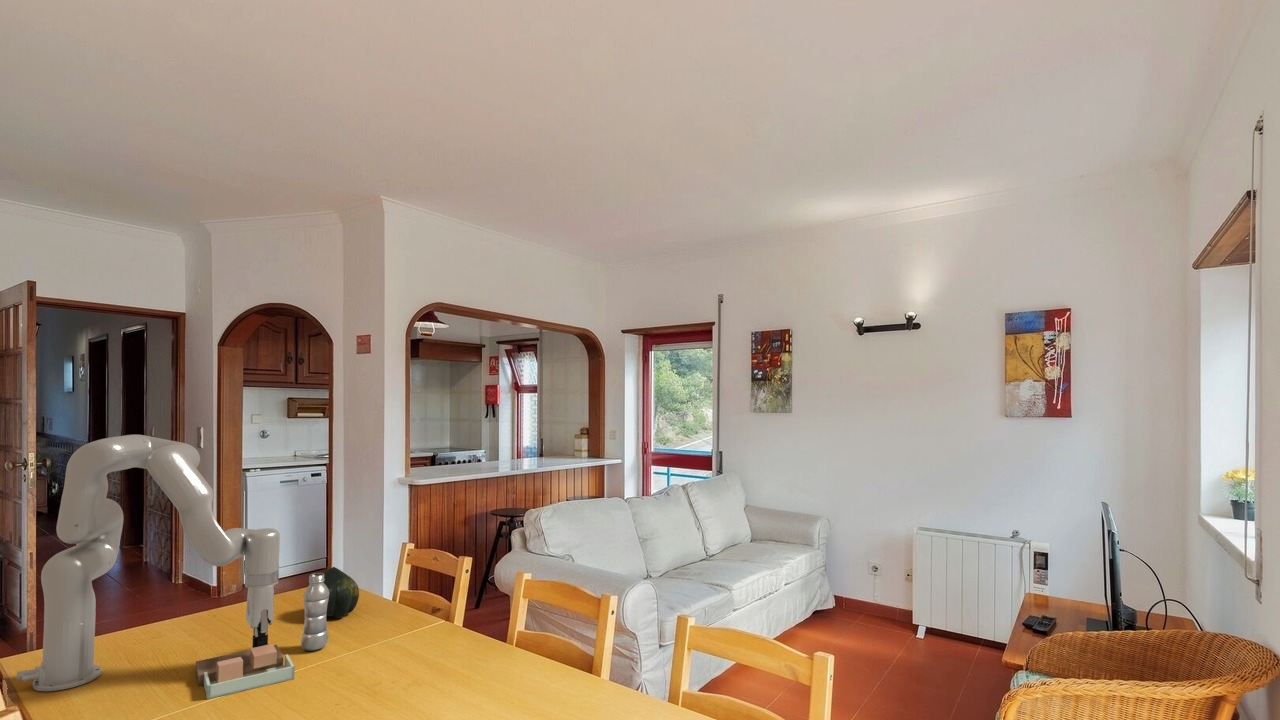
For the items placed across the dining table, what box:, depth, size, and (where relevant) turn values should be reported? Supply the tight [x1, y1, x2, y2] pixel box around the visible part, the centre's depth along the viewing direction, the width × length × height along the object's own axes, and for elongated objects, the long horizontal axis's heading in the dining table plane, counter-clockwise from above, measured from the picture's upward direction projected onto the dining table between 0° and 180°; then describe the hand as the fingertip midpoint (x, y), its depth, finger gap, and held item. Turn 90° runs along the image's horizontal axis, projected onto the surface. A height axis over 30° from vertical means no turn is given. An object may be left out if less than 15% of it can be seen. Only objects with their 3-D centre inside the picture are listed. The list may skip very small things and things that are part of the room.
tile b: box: [249, 643, 277, 669], centre depth 166 cm, size 5×5×3 cm
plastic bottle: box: [300, 572, 329, 652], centre depth 181 cm, size 6×7×20 cm
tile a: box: [216, 657, 243, 683], centre depth 159 cm, size 5×5×3 cm
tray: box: [203, 653, 296, 700], centre depth 161 cm, size 18×9×3 cm, turn 128°
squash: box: [323, 566, 360, 619], centre depth 207 cm, size 14×15×15 cm
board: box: [195, 644, 284, 687], centre depth 167 cm, size 18×10×2 cm, turn 128°
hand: (259, 650), depth 169 cm, fingers closed
